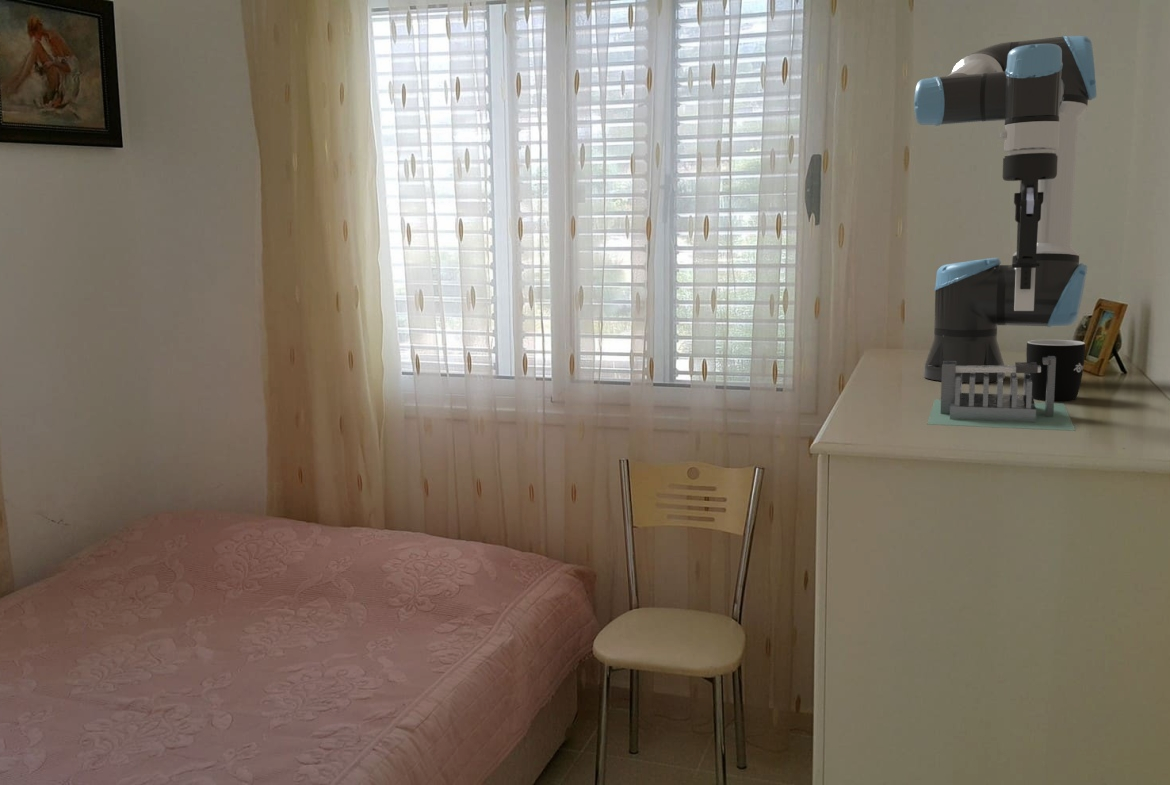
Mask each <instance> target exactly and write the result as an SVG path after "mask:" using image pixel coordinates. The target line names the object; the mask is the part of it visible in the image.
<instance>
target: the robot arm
mask: <svg viewBox="0 0 1170 785" xmlns="http://www.w3.org/2000/svg"><path fill="white" fill-rule="evenodd" d="M1093 48H1094V47H1093V43H1092V40H1091V38H1089V37H1088V36H1086V35H1069V36H1066V35H1062V36H1057V37H1049V38H1048V37H1047V38H1039V39H1030V40H1029V39H1028V40H1020V41H1019V40H1018V41H1007V42H1000V43H998V44H993V45H990V46H988V47H984V48H982V49H979V50H977V51H974V52H972V53H970V54H968V55H967V56H964V57H963V58H962V59H960V60H959V61H958V62H957V63H956V64H955V65H954V66H953V69H952V70H951V73H949V74H948V75H947V76H933V77H929V78H922V79H920V80H919V81H917V83H916V86H915V89H914V90H915V91H914V100H913V101H914V104H913V105H914V108H913V109H914V117H915V120H916V122H917V123H918V124H919V125H921V126H941V125H951V124H952V125H953V124H954V125H955V124H964V123H965V124H966V123H975V122H976V123H977V122H978V123H979V122H996V121H997V122H998V121H1000V122H1001V121H1004V130H1005V131H1001V132H1000V133H999V138H1000V139H1005V140H1004V142H1003V151H1004V153H1007V155H1006V156H1004V157H1003V158H1002V180H1004V181H1007V182H1018V181H1019V182H1020V185H1019V186H1020V187H1019V192H1015V193H1014V195H1013V197H1014V198H1013V204H1014V206H1015V209H1014V213H1015V215H1014V220H1015V222H1016V223H1017V227H1016V228H1017V229H1016V230H1017V232H1016V233H1017V234H1016V236H1017V237H1016V251H1014V253H1013V254H1012V257H1011V258H1012V260H1011V264H1001V260H1000V258H999V257H991V258H983V259H976V260H968V261H961V262H953V263H947V264H943V265H941V266H940V267H939V268H938V269H937V271H936V275H935V276H936V277H935V278H936V279H935V285H934V286H935V287H934V289H933V290H934V291H935V292H934V296H935V297H934V298H935V299H934V326H933V329H934V331H933V332H934V333H933V334H934V335H933V341H932V344H931V347H930V349H929V352H928V354H927V356H926V357H927V358H926V360H925V363H924V366H923V377H924V378H926V379H928V380H933V381H940V382H941V381H942V364H943V361H957V362H956V366H993V365H1005V362H1004V359H1003V356H1002V352H1001V350H1000V345H999V342H998V326H1008V327H1009V326H1014V327H1015V326H1018V327H1019V326H1020V327H1021V326H1022V327H1023V326H1024V327H1047V328H1051V327H1069V326H1070V325H1073V324H1074V323H1075V322H1076V321H1077V319H1078V316H1079V313H1080V310H1081V304H1082V299H1083V294H1084V289H1085V286H1086V279H1087V278H1086V277H1087V274H1088V273H1087V271H1088V266H1087V265H1086V264H1084V263H1083V262H1081V263H1080V254H1079V253H1078V252H1077V251H1076V250H1075V249H1074V248H1073V245H1072V237H1073V236H1072V235H1073V234H1072V233H1073V216H1074V214H1073V213H1074V199H1075V197H1074V196H1075V175H1076V162H1077V161H1076V157H1077V140H1078V139H1077V138H1078V136H1077V135H1078V122H1079V121H1078V120H1079V118H1080V117H1081V116H1082V115H1083V114H1084V113H1085V112H1086V111H1087V110H1088V106H1089V104H1088V102H1089V101H1092V100H1094V99H1096V98H1097V83H1096V82H1097V81H1096V72H1095V71H1096V70H1095V61H1094V60H1095V58H1094V50H1093ZM956 375H957V373H956ZM1002 375H1003V380H1005V378H1006V373H1002ZM969 382H970V373H962V383H969ZM990 382H991V383H992V382H997V373H989V383H990ZM975 383H984V373H975Z"/></svg>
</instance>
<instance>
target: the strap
mask: <svg viewBox="0 0 1170 785" xmlns="http://www.w3.org/2000/svg"><path fill="white" fill-rule="evenodd" d="M956 373H1005V374H1007V373H1009V374H1011V373H1016V374H1024V373H1041V366H1040V365H1037V363H1036V362H1027V361H1025V362H1019V361H1017V362H1016V361H1015V364H1014V365H1013V364H1012V365H1005V364H1004V365H993V366H956Z"/></svg>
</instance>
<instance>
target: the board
mask: <svg viewBox="0 0 1170 785" xmlns="http://www.w3.org/2000/svg"><path fill="white" fill-rule="evenodd" d="M932 404H933V405H932V407H931V410H930V413H929V417H928V420H927V425H930V426H933V425H935V426H956V427H979V428H998V429H999V428H1001V429H1002V428H1003V429H1022V430H1023V429H1025V430H1027V429H1028V430H1044V431H1045V430H1047V431H1070V432H1071V431H1072V432H1073V431H1074V432H1076V429H1075V427H1074V423H1073V422H1072V419H1071V417H1070V415H1069V413H1068V411H1067V408H1066V406H1065V403H1061V402H1060V403H1059V402H1054V413H1053V417H1046V415H1045V404H1046V402H1034V404H1035V407H1036V422H1035V423H1030V422H1006V421H981V420H957V419H950V414H941V398H939V399H938V398H934V400H933V403H932Z"/></svg>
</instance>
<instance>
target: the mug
mask: <svg viewBox="0 0 1170 785" xmlns="http://www.w3.org/2000/svg"><path fill="white" fill-rule="evenodd" d="M1025 355H1026V362H1036V363H1037V365H1040V366H1041V373H1030V376H1031V379H1032V396H1033V400H1034V401H1042V402H1046V383H1047V365H1043V362H1042V361H1043V357H1048V356H1055V357H1056V370H1055V391H1054V403H1059V402H1060V403H1061V402H1064V403H1065V402H1073V401H1076V399H1077V397H1078V395H1079V392H1080V388H1081V385H1082V384H1081V383H1082V378H1083V373H1084V367H1085V357H1086V356H1085V355H1086V342H1084V341H1081V340H1069V339H1068V340H1067V339H1034V340H1028V341H1027V342H1026V354H1025Z"/></svg>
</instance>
